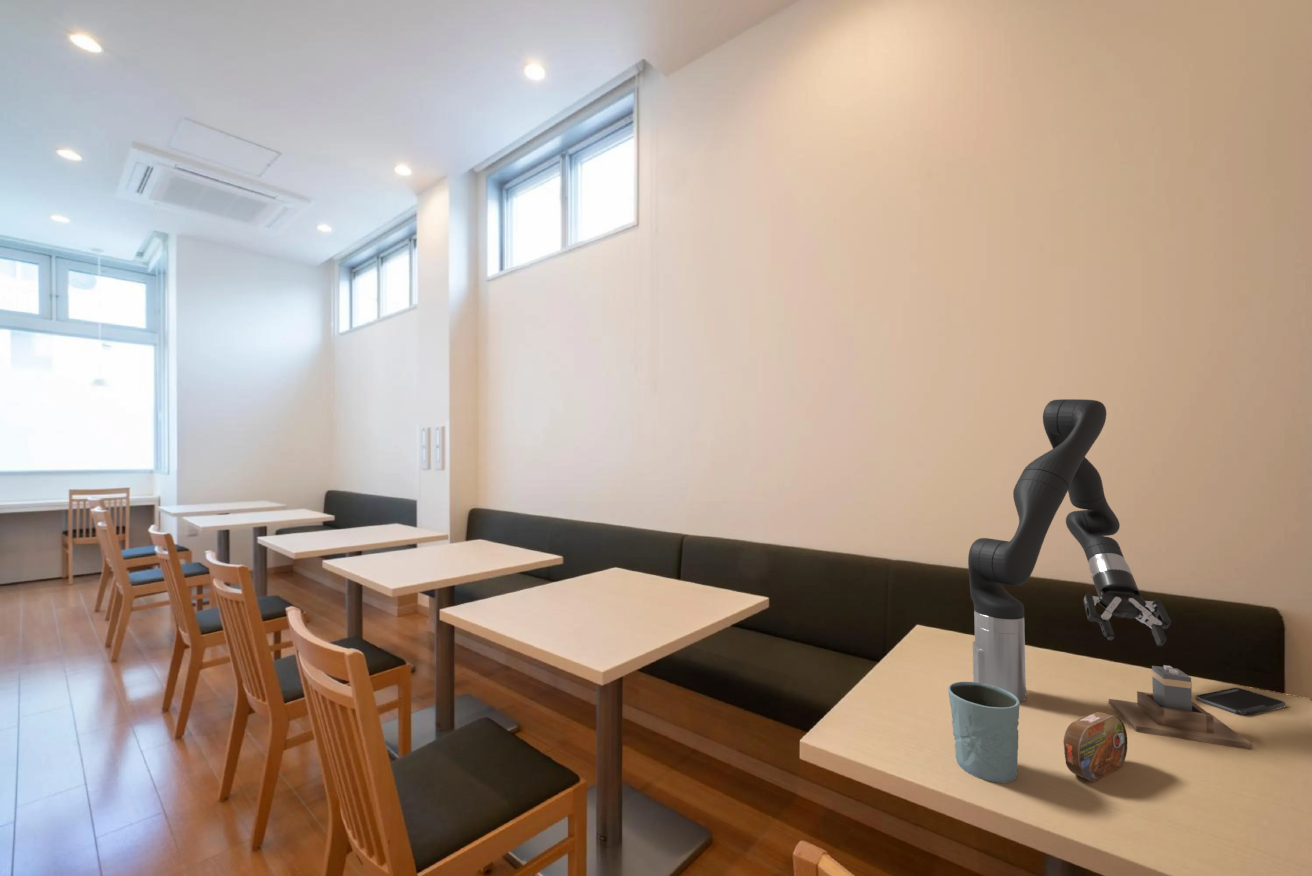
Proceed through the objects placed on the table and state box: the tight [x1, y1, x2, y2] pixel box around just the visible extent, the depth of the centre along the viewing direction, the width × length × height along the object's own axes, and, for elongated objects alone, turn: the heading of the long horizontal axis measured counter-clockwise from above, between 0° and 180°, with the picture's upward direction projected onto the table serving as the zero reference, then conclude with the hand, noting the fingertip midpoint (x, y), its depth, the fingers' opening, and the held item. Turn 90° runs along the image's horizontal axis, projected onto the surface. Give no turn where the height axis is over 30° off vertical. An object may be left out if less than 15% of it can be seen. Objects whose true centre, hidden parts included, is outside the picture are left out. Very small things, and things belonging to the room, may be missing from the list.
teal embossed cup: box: [947, 681, 1020, 784], centre depth 87 cm, size 10×10×12 cm
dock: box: [1108, 690, 1252, 750], centre depth 101 cm, size 16×12×4 cm
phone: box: [1195, 687, 1287, 717], centre depth 110 cm, size 8×1×15 cm
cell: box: [1151, 664, 1193, 712], centre depth 101 cm, size 4×5×10 cm
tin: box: [1063, 711, 1128, 783], centre depth 86 cm, size 15×3×8 cm, turn 116°
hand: (1136, 641), depth 114 cm, fingers open, 8 cm apart
